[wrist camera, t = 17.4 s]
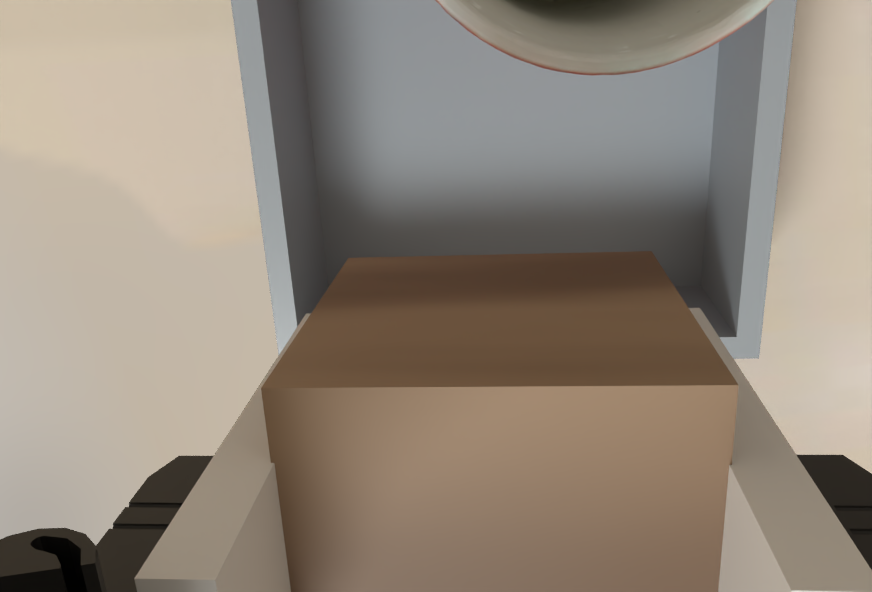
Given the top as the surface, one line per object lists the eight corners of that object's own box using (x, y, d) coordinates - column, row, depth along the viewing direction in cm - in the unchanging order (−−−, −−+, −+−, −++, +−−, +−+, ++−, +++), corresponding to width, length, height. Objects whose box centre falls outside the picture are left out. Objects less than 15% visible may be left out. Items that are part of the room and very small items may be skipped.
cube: (348, 258, 13) (260, 388, 8) (651, 251, 13) (737, 385, 8) (370, 511, 15) (307, 739, 10) (639, 513, 14) (706, 754, 10)
